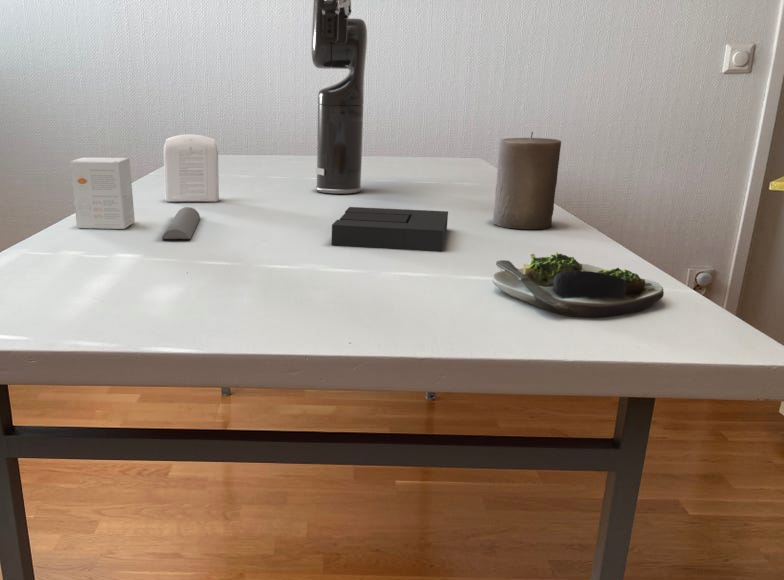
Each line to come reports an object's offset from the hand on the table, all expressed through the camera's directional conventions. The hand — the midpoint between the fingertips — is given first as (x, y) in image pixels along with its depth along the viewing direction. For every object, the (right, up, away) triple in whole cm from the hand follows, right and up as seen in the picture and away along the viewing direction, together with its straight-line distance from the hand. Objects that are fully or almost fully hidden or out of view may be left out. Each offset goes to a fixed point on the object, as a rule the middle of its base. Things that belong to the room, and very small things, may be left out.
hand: (335, 42), depth 125 cm
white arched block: (-26, -21, +25) cm, 42 cm away
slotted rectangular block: (+9, -32, -5) cm, 34 cm away
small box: (-37, -29, +1) cm, 47 cm away
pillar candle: (+31, -28, +6) cm, 43 cm away
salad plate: (+26, -44, -35) cm, 62 cm away
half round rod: (-25, -30, 0) cm, 39 cm away
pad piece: (+6, -32, -5) cm, 33 cm away
